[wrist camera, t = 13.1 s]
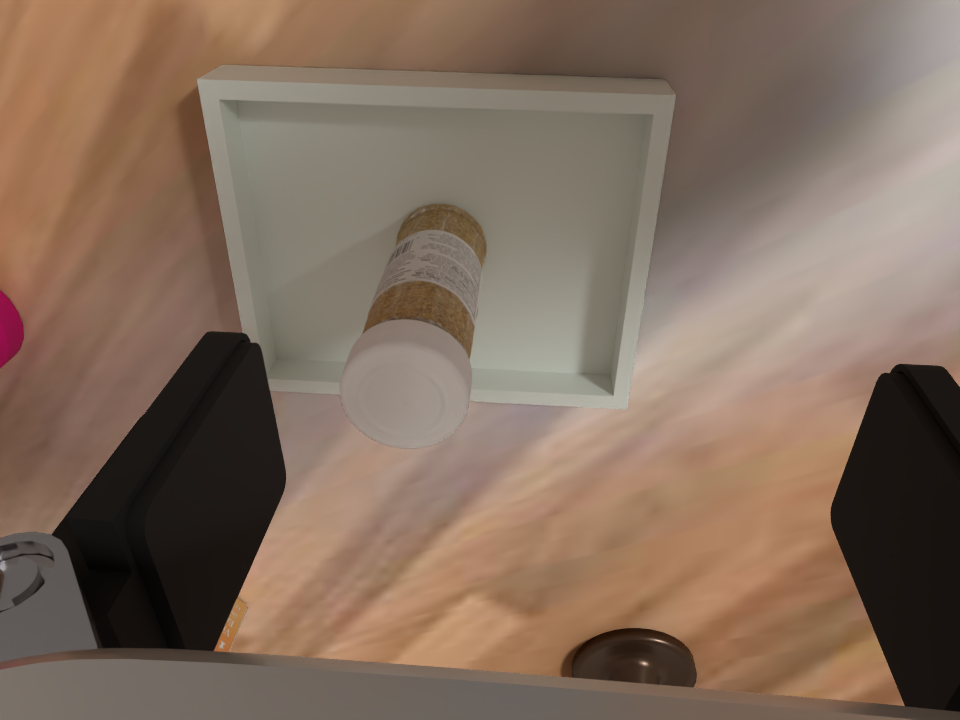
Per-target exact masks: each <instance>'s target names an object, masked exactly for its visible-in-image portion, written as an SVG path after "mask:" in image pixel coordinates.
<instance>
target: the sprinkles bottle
mask: <svg viewBox="0 0 960 720" xmlns="http://www.w3.org/2000/svg"><path fill="white" fill-rule="evenodd" d="M486 253H487V245H486V239H485V235H484V233H483V230H482V227H481V226H480V225H479V223H478V222H477V221H476V220H475V219H474V218H473V217H472V216H471V215H470V214H469V213H467V212H466V211H465V210H463V209H461V208H458V207H456V206H454V205H449V204H431V205H427V206H424V207H421V208H419V209H417V210H416V211H415V212H413V213H411V214H410V215H409V216H408V218H407V219H406V220H404V222H403V223H402V225H401V227H400V230H399V232H398V234H397V240H396V246H395V248H394V249H393V251H392V253H391V255H390V257H389V260H388V262H387V265H386V267H385V270H384V273H383V275H382V277H381V280H380V282H379V285H378V287H377V290H376V293H375V296H374V298H373V301H372V304H371V306H370V309H369V312H368V316H367V321H366V323H365V327H364V330H363V333H362V335H361V336H360V337H359V338H358V339H357V340H356V342H355V343H354V345H353V346H352V348H351V350H350V353H349V356H348V358H347V361H346V364H345V367H344V370H343V373H342V376H341V380H340V388H339V390H340V399H341V403H342V406H343V409H344V411H345V413H346V415H347V417H348V418H349V420H350V421H351V422H352V423H353V425H354V426H355V427H356V428H357V429H358V430H359V431H361V432H362V433H363V434H364V435H366V436H368V437H369V438H371V439H373V440H374V441H377V442H379V443H381V444H384V445H387V446H390V447H396V448H403V449H416V448H423V447H428V446H431V445H434V444H437V443H439V442H441V441H443V440H445V439H446V438H447V437H449V436H450V435H452V434H453V433H454V432H455V431H456V430H457V429H458V427H459V426H460V425H461V423H462V422H463V420H464V418H465V416H466V413H467V410H468V406H469V400H470V393H471V386H472V368H471V363H470V355H471V349H472V344H473V335H474V329H475V323H476V318H477V315H478V310H479V302H480V294H481V286H482V267H483V265H484V263H485V258H486Z"/></svg>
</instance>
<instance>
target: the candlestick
mask: <svg viewBox="0 0 960 720" xmlns="http://www.w3.org/2000/svg"><path fill="white" fill-rule="evenodd" d="M572 673H573V678H582V679H595V680H607V681H619V682H631V683H644V684H656V685H668V686H680V687H692V688H693V687H694V685H695V683H696V677H697V673H696V668H695V663H694V659H693V655H692V654H691V652H690V650H689V649H688V648H687V647H686V646H685V645H684V644H683V643H682V642H681V641H679V640H678V639H676V638H674V637H672V636H670V635H668V634H665V633H663V632H659V631H655V630H649V629H641V628H631V629H620V630H614V631H610V632H607V633H603V634H601V635H599V636H596V637H594V638H592V639H591V640H589V641H588V642H586V643H585V644H584V645H583V646H582V647H581V648H580V649H579V650H578V651H577V653H576V654H575V656H574V659H573V662H572Z"/></svg>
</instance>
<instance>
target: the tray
mask: <svg viewBox="0 0 960 720" xmlns="http://www.w3.org/2000/svg"><path fill="white" fill-rule="evenodd" d="M197 84H198V89H199V95H200V100H201V106H202V111H203V117H204V122H205V128H206V133H207V139H208V144H209V150H210V155H211V161H212V167H213V172H214V178H215V183H216V189H217V194H218V200H219V205H220V211H221V216H222V222H223V227H224V233H225V239H226V244H227V250H228V255H229V261H230V266H231V272H232V277H233V283H234V288H235V294H236V299H237V305H238V311H239V316H240V322H241V327H242V333H245V334H247V335H248V337H249V339H250V341H251V342H252V343H258V344H259V345H260V347H261V350H262V354H263V359H264V364H265V369H266V374H267V379H268V384H269V389H270V391H276V392H296V393H315V394H335V395H340V390H339V388H340V380H341V376H342V373H343V370H344V367H345V364H346V361H347V358H348V356H349V353H350V350H351V348H352V346H353V345H354V343H355V342H356V340H357V339H358V338H359V337H360V336H361V335H362V333H363V330H364V327H365V323H366V321H367V316H368V312H369V309H370V306H371V304H372V301H373V298H374V296H375V293H376V290H377V287H378V285H379V282H380V280H381V277H382V275H383V273H384V270H385V267H386V265H387V262H388V260H389V257H390V255H391V253H392V251H393V249H394V248H395V246H396V240H397V234H398V232H399V230H400V227H401V225H402V223H403V222H404V220H406V219H407V218H408V216H409V215H410V214H411V213H413V212H415V211H416V210H417V209H419V208H421V207H424V206H427V205H431V204H449V205H454V206H456V207H458V208H461V209H463V210H465V211H466V212H467V213H469V214H470V215H471V216H472V217H473V218H474V219H475V220H476V221H477V222H478V223H479V225H480V226H481V227H482V230H483V233H484V235H485V239H486V245H487V253H486V258H485V263H484V265H483V267H482V286H481V294H480V302H479V310H478V315H477V318H476V323H475V329H474V335H473V344H472V349H471V355H470V363H471V368H472V386H471V393H470V400H469V401H472V402H491V403H511V404H530V405H550V406H570V407H589V408H609V409H627V406H628V400H629V393H630V387H631V381H632V374H633V368H634V361H635V355H636V349H637V342H638V336H639V330H640V323H641V317H642V310H643V304H644V298H645V291H646V285H647V279H648V272H649V266H650V259H651V253H652V247H653V240H654V234H655V227H656V221H657V215H658V208H659V202H660V196H661V189H662V183H663V176H664V170H665V164H666V157H667V151H668V145H669V138H670V132H671V125H672V119H673V113H674V106H675V100H676V94H675V93H674V91H673V90H672V88H671V87H670V85H669V84H668V82H667V81H666V79H646V78H615V77H585V76H554V75H524V74H493V73H462V72H432V71H401V70H370V69H340V68H309V67H279V66H248V65H220V66H219V67H217V68H215V69H214V70H212V71H210V72H208V73H207V74H205V75H203V76H201V77H200V78H198V79H197Z"/></svg>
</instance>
